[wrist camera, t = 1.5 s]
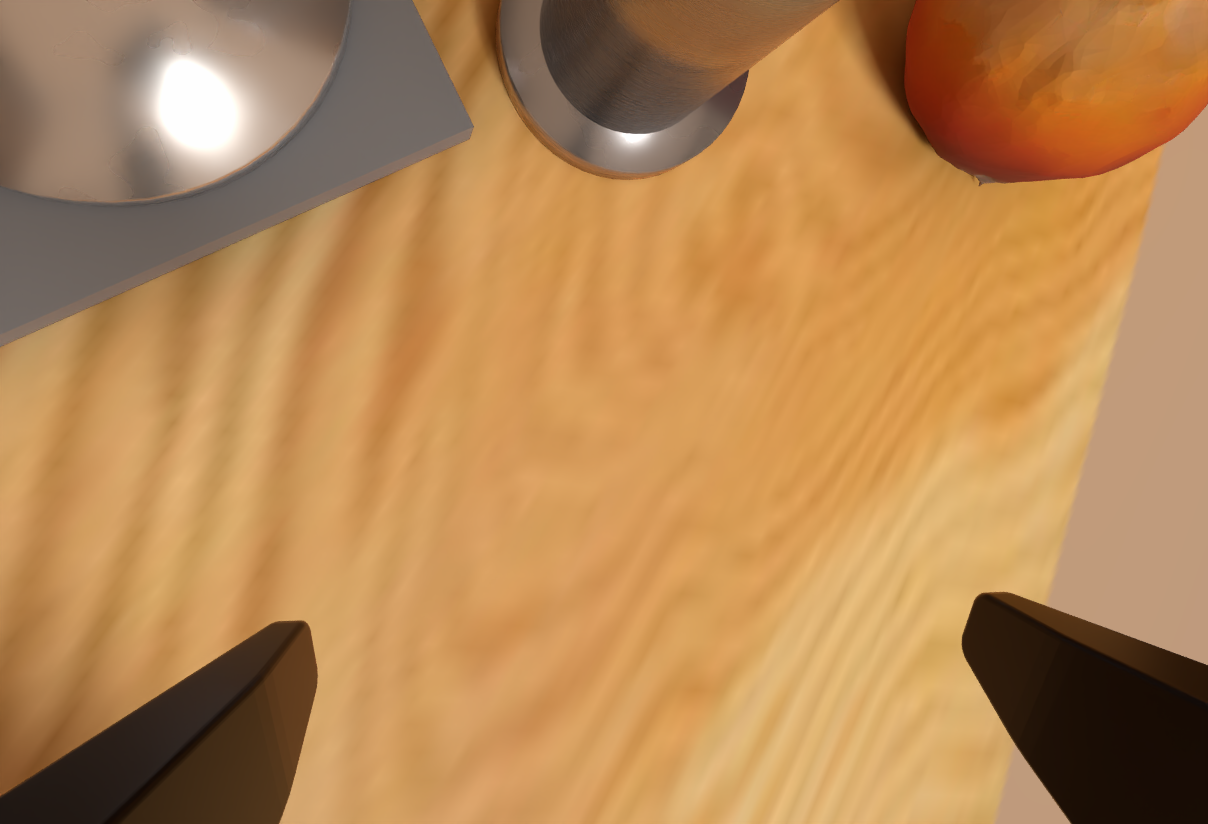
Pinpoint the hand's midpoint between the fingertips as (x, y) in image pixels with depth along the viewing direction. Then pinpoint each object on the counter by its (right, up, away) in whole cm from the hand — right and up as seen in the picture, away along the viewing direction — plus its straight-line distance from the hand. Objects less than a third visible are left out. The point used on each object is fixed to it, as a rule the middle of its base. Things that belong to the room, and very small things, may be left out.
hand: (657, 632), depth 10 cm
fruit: (+11, +14, +14) cm, 23 cm away
